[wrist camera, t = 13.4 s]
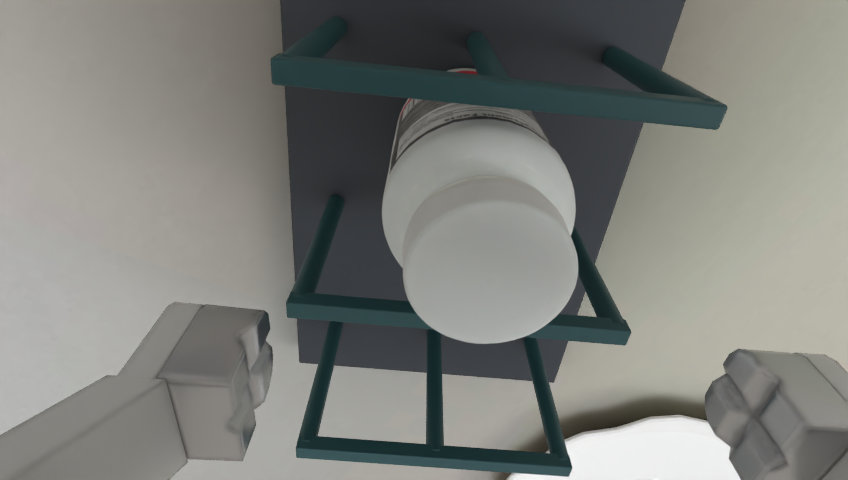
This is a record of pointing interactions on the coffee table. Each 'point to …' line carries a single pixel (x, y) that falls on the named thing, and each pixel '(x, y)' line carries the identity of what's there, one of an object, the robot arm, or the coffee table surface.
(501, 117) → the pill bottle
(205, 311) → the robot arm
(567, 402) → the coffee table surface
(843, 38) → the coffee table surface
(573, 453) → the plate
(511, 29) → the rack
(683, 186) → the coffee table surface
